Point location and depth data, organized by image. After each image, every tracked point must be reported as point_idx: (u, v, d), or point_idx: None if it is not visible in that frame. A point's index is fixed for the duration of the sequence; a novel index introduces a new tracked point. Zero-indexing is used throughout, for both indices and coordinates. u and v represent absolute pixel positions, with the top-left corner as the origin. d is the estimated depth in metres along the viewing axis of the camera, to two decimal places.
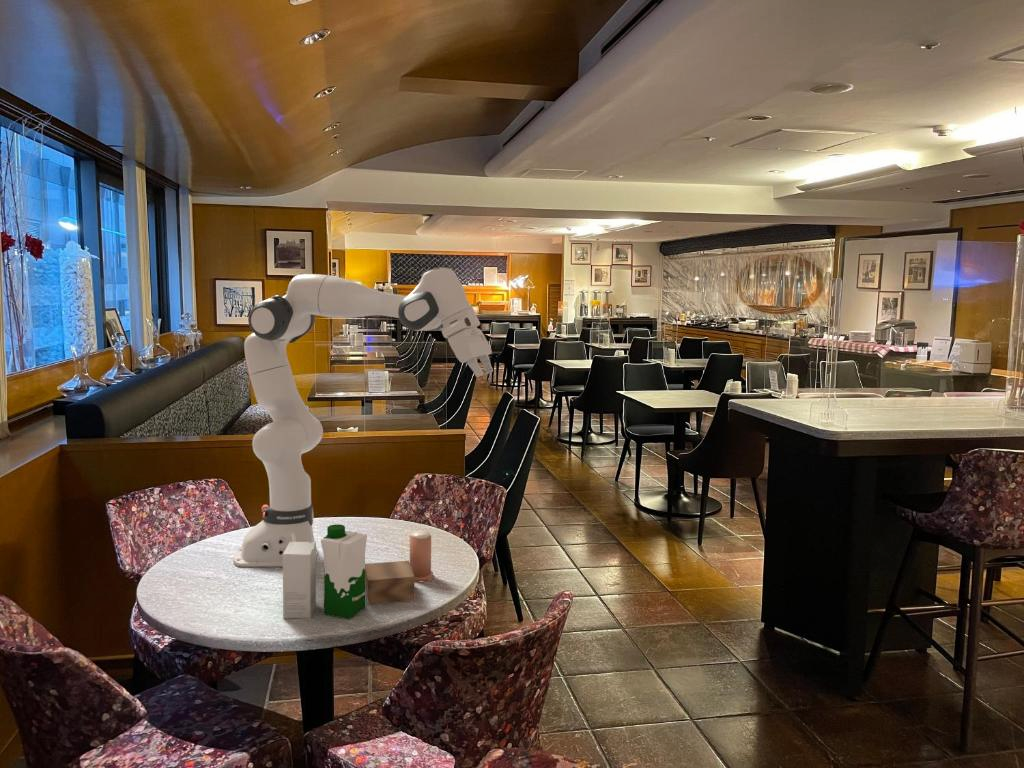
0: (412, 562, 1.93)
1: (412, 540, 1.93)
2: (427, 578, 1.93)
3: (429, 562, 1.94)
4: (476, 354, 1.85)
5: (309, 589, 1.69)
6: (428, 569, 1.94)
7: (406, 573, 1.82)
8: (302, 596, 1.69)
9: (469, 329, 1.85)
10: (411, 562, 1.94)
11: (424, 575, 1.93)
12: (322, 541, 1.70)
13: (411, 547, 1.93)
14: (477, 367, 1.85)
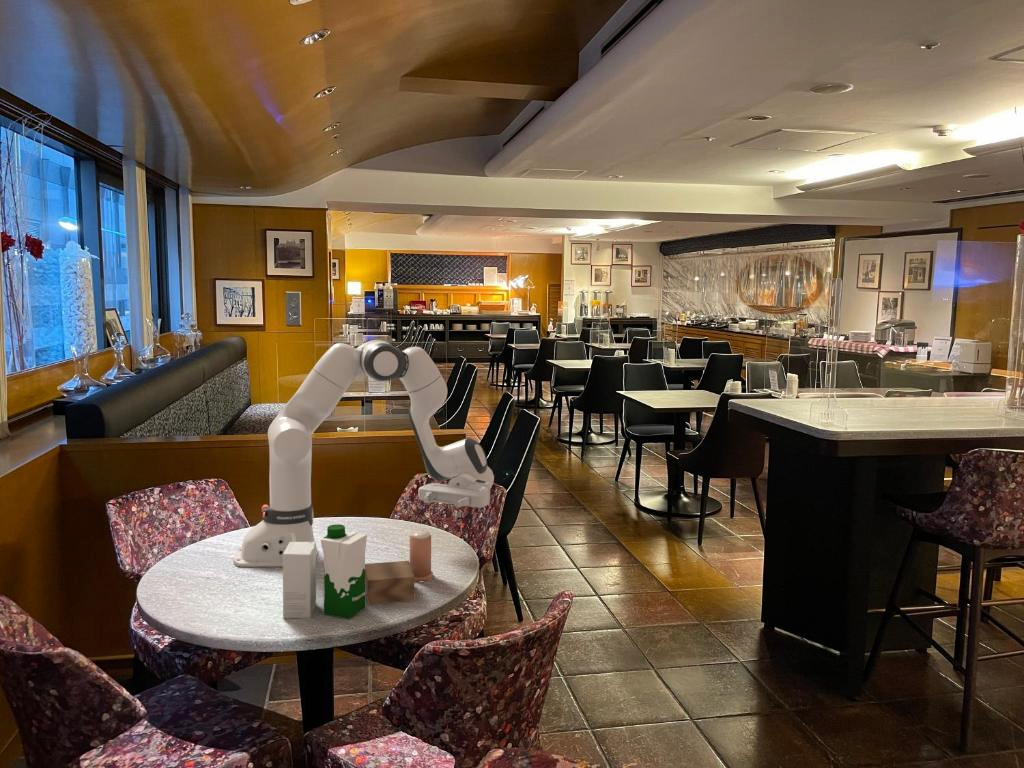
0: (412, 562, 1.93)
1: (412, 540, 1.93)
2: (427, 578, 1.93)
3: (429, 562, 1.94)
4: None
5: (309, 589, 1.69)
6: (428, 569, 1.94)
7: (406, 573, 1.82)
8: (302, 596, 1.69)
9: None
10: (411, 562, 1.94)
11: (424, 575, 1.93)
12: (322, 541, 1.70)
13: (411, 547, 1.93)
14: (464, 504, 2.05)
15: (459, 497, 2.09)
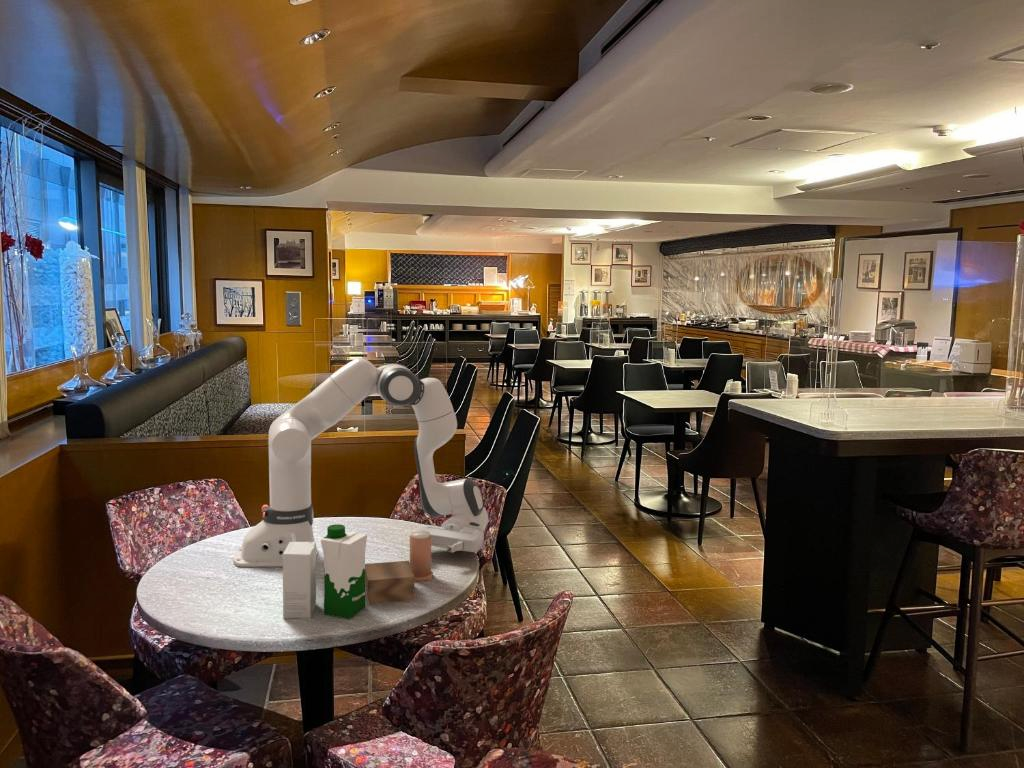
0: (412, 562, 1.93)
1: (412, 540, 1.93)
2: (427, 578, 1.93)
3: (429, 562, 1.94)
4: None
5: (309, 589, 1.69)
6: (428, 569, 1.94)
7: (406, 573, 1.82)
8: (302, 596, 1.69)
9: None
10: (411, 562, 1.94)
11: (424, 575, 1.93)
12: (322, 541, 1.70)
13: (411, 547, 1.93)
14: (457, 549, 2.03)
15: (452, 541, 2.07)
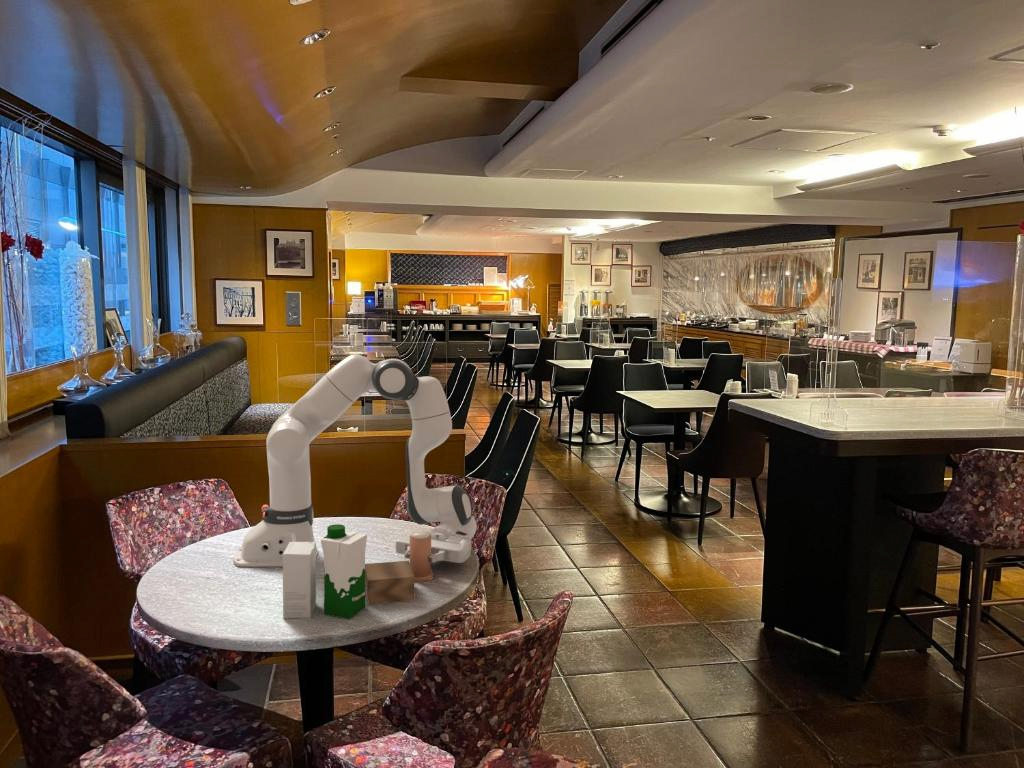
0: (412, 562, 1.93)
1: (412, 540, 1.93)
2: (427, 578, 1.93)
3: (429, 562, 1.94)
4: None
5: (309, 589, 1.69)
6: (428, 569, 1.94)
7: (406, 573, 1.82)
8: (302, 596, 1.69)
9: None
10: (411, 562, 1.94)
11: (424, 575, 1.93)
12: (322, 541, 1.70)
13: (411, 547, 1.93)
14: (438, 559, 1.95)
15: (438, 551, 1.98)
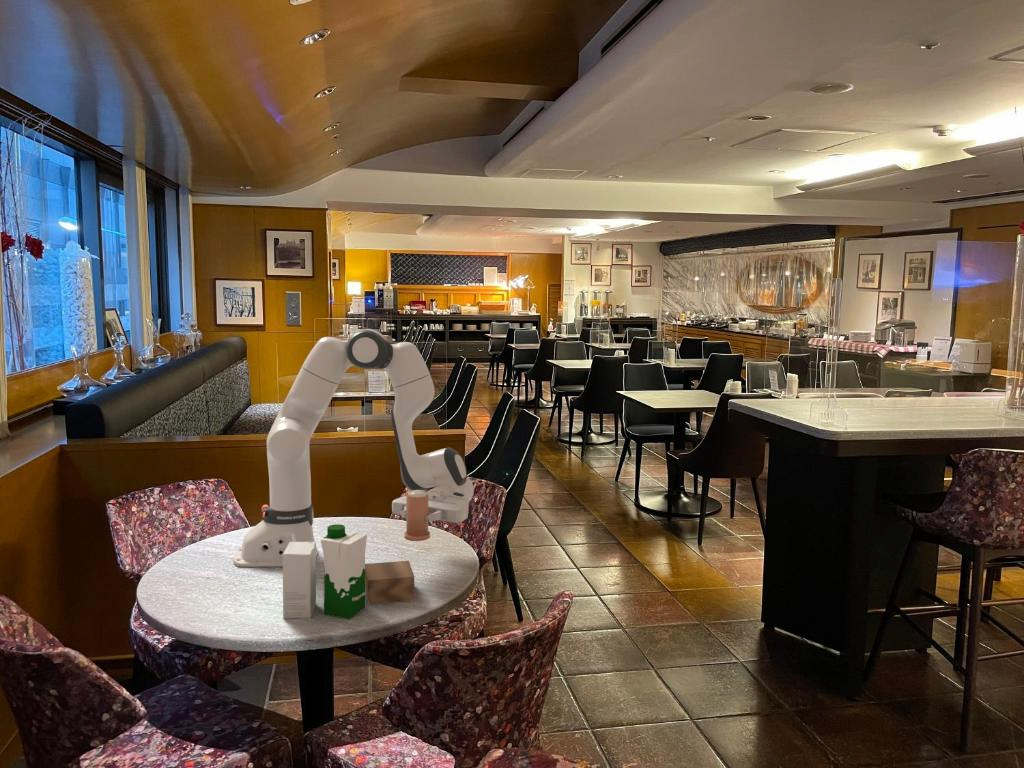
0: (409, 521, 1.91)
1: (409, 499, 1.90)
2: (424, 537, 1.91)
3: (426, 521, 1.92)
4: None
5: (309, 589, 1.69)
6: (425, 528, 1.92)
7: (406, 573, 1.82)
8: (302, 596, 1.69)
9: None
10: (408, 521, 1.91)
11: (421, 534, 1.91)
12: (322, 541, 1.70)
13: (408, 506, 1.91)
14: (435, 519, 1.93)
15: (435, 511, 1.96)
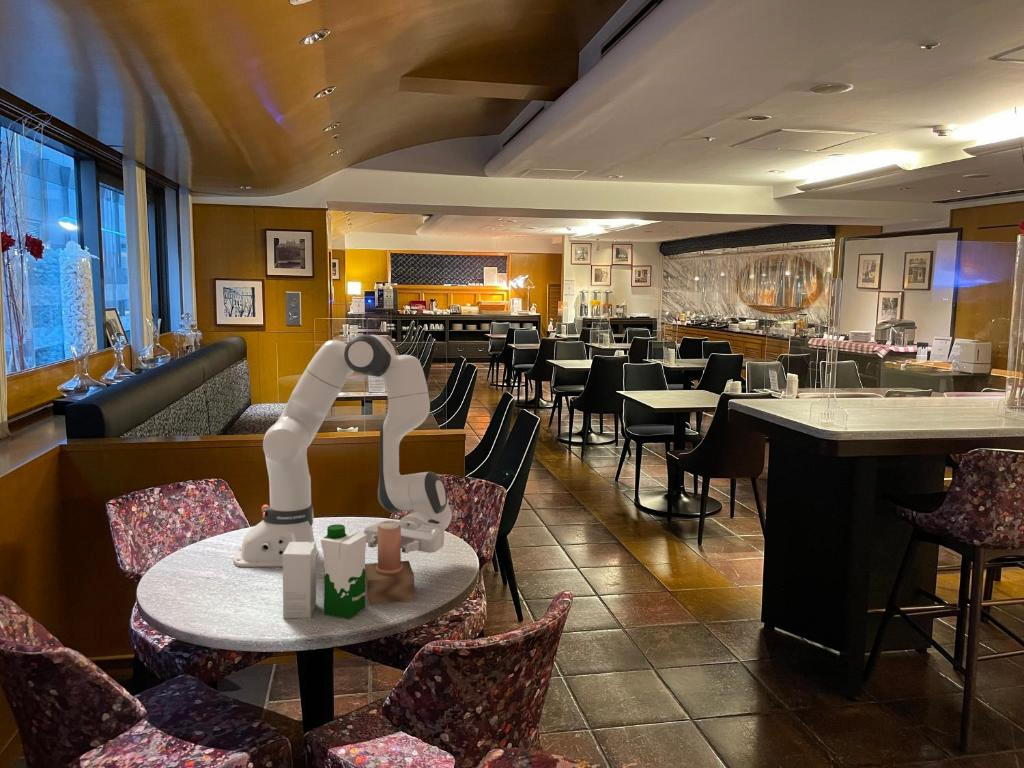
0: (380, 554, 1.81)
1: (380, 531, 1.81)
2: (396, 571, 1.82)
3: (398, 554, 1.83)
4: None
5: (309, 589, 1.69)
6: (397, 561, 1.82)
7: (406, 573, 1.82)
8: (302, 596, 1.69)
9: None
10: (379, 554, 1.82)
11: (393, 568, 1.82)
12: (322, 541, 1.70)
13: (379, 538, 1.81)
14: (412, 549, 1.83)
15: (408, 540, 1.87)
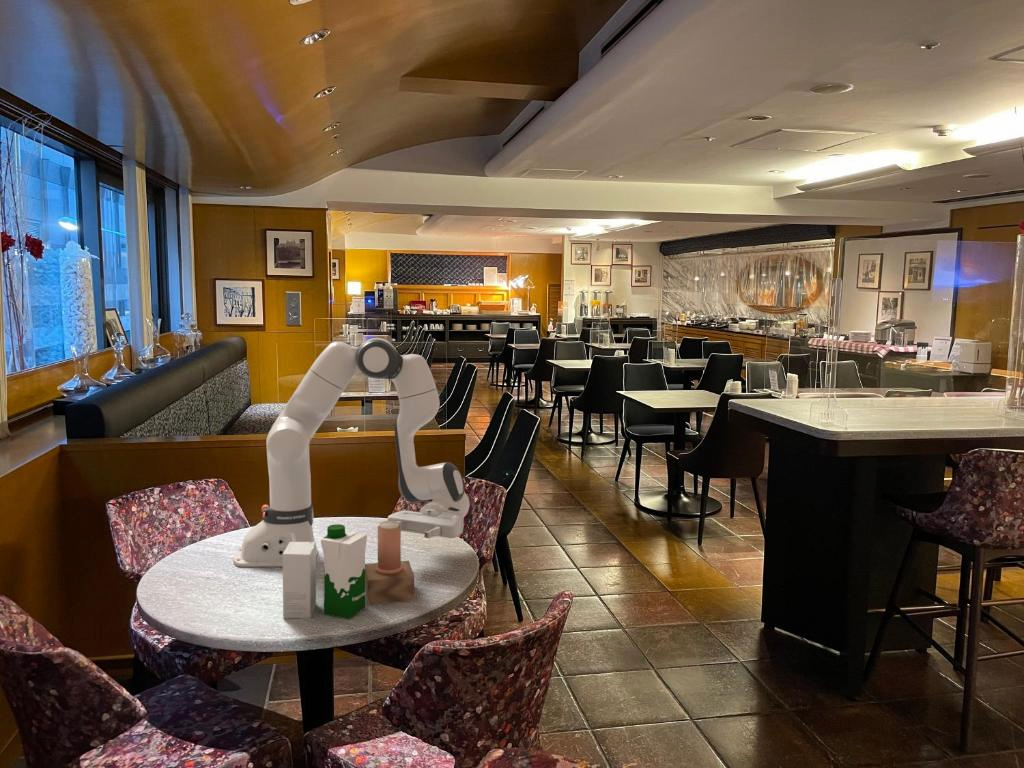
0: (380, 553, 1.81)
1: (380, 530, 1.81)
2: (396, 571, 1.82)
3: (398, 554, 1.83)
4: None
5: (309, 589, 1.69)
6: (397, 561, 1.82)
7: (406, 573, 1.82)
8: (302, 596, 1.69)
9: None
10: (379, 554, 1.82)
11: (393, 568, 1.82)
12: (322, 541, 1.70)
13: (379, 538, 1.81)
14: (434, 535, 1.94)
15: (430, 526, 1.97)
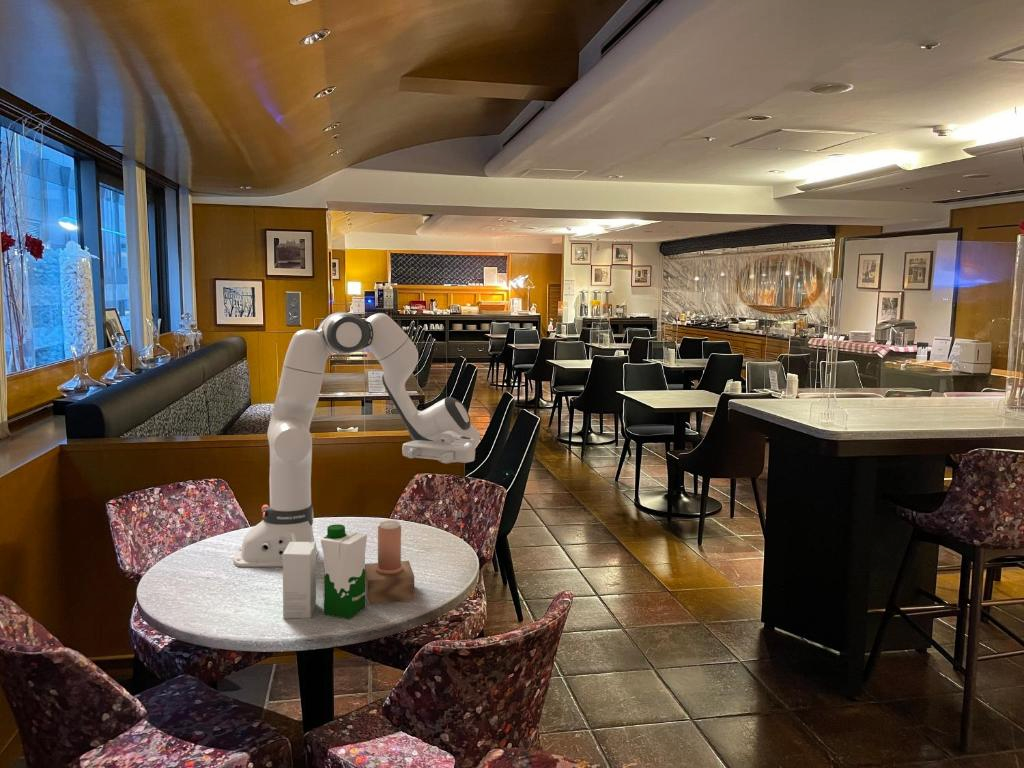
0: (381, 554, 1.81)
1: (380, 530, 1.81)
2: (396, 571, 1.82)
3: (398, 554, 1.83)
4: (452, 461, 2.05)
5: (309, 589, 1.69)
6: (398, 561, 1.82)
7: (406, 573, 1.82)
8: (302, 596, 1.69)
9: None
10: (379, 554, 1.82)
11: (393, 568, 1.82)
12: (322, 541, 1.70)
13: (379, 538, 1.81)
14: (448, 459, 2.02)
15: (443, 452, 2.06)
